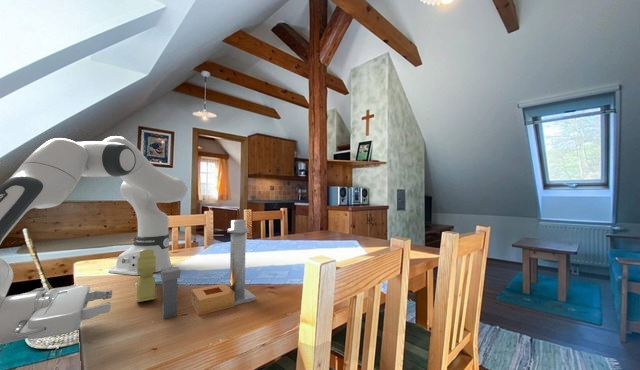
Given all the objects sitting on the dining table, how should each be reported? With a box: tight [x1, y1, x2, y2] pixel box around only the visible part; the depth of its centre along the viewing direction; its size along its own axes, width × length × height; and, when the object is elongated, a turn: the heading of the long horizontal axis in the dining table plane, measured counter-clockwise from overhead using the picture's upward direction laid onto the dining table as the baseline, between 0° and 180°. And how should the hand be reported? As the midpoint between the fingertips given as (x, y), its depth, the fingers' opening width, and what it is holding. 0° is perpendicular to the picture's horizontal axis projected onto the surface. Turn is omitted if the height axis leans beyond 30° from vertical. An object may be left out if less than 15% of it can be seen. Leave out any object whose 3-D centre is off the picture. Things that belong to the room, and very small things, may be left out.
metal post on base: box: [190, 219, 257, 316], centre depth 79 cm, size 16×10×24 cm, turn 127°
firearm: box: [135, 249, 156, 303], centre depth 85 cm, size 4×30×15 cm, turn 33°
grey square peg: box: [160, 266, 181, 320], centre depth 70 cm, size 4×4×12 cm
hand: (111, 299), depth 63 cm, fingers open, 8 cm apart
